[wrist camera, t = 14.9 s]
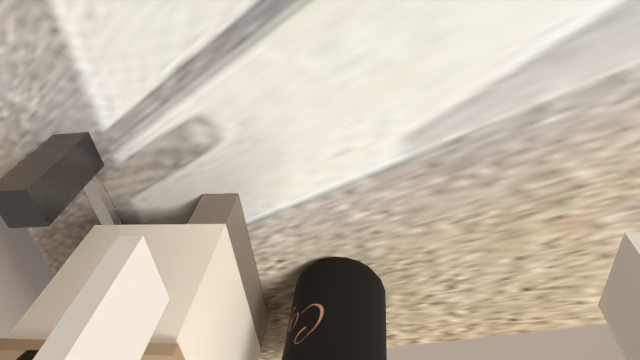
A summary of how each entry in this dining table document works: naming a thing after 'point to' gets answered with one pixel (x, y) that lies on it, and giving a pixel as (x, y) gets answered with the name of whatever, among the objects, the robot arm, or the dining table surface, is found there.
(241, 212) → the toe-kick cabinet
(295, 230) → the dining table surface
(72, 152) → the grey post with bar
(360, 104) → the dining table surface
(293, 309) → the coffee jar
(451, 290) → the dining table surface
